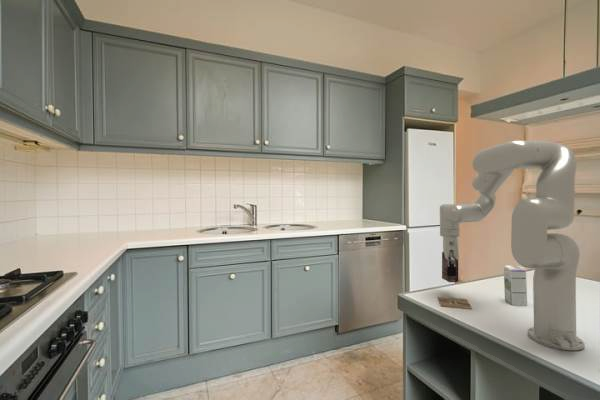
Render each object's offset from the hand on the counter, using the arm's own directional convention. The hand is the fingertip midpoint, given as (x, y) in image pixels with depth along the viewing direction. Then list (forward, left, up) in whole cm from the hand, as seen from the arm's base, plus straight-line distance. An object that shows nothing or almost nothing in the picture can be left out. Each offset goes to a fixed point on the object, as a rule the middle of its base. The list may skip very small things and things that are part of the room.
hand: (450, 273), depth 126 cm
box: (0, 0, -3) cm, 3 cm away
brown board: (-9, 0, -10) cm, 13 cm away
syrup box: (-2, -23, -10) cm, 25 cm away
